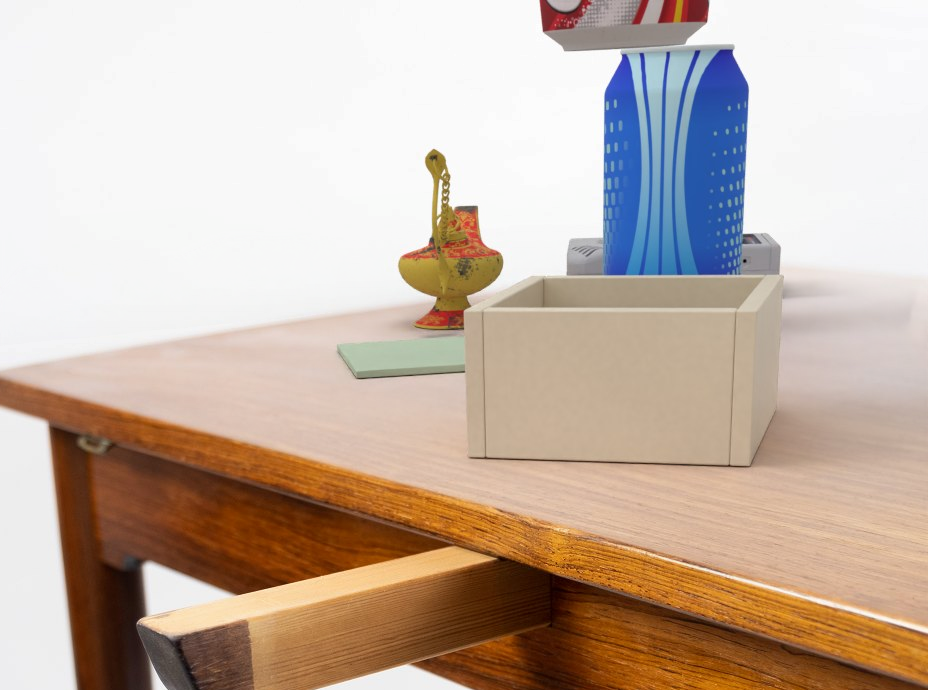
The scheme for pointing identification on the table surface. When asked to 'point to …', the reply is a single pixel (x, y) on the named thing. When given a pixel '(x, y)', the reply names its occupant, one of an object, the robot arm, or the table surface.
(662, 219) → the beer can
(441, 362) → the mat
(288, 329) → the table surface
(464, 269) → the magic lamp
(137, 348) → the table surface
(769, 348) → the crate
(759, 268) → the handheld gaming device
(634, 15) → the soda can
